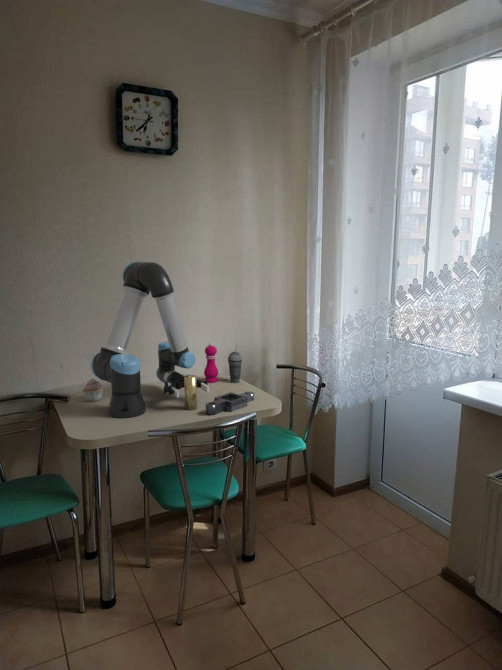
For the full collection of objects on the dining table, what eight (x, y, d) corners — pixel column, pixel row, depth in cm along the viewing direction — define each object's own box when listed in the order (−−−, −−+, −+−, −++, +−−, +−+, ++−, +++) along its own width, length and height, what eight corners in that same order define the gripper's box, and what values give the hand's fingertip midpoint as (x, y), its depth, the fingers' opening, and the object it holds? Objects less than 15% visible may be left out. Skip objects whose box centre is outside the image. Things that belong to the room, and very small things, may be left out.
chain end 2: (231, 411, 202) (231, 404, 202) (214, 406, 208) (214, 399, 208) (261, 400, 216) (261, 394, 216) (244, 396, 223) (244, 389, 222)
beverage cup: (233, 379, 251) (232, 341, 247) (245, 381, 247) (244, 342, 244) (225, 382, 245) (224, 343, 241) (237, 384, 241) (237, 345, 237)
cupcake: (108, 397, 222) (107, 375, 220) (99, 403, 213) (97, 381, 211) (89, 396, 223) (87, 375, 222) (79, 402, 214) (77, 380, 212)
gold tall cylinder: (190, 411, 203) (189, 378, 200) (182, 408, 206) (181, 376, 203) (199, 408, 207) (198, 376, 204) (191, 405, 210) (190, 374, 207)
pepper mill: (217, 383, 244) (217, 344, 240) (203, 383, 244) (202, 344, 240) (219, 379, 251) (218, 341, 247) (205, 379, 251) (204, 341, 247)
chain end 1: (216, 417, 195) (215, 408, 194) (198, 412, 202) (198, 403, 201) (247, 405, 210) (247, 396, 209) (230, 401, 216) (230, 392, 215)
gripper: (199, 384, 229) (220, 395, 211) (148, 392, 216) (165, 405, 198) (199, 368, 227) (219, 379, 209) (147, 375, 215) (164, 387, 197)
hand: (193, 391), depth 204 cm, fingers open, 13 cm apart
